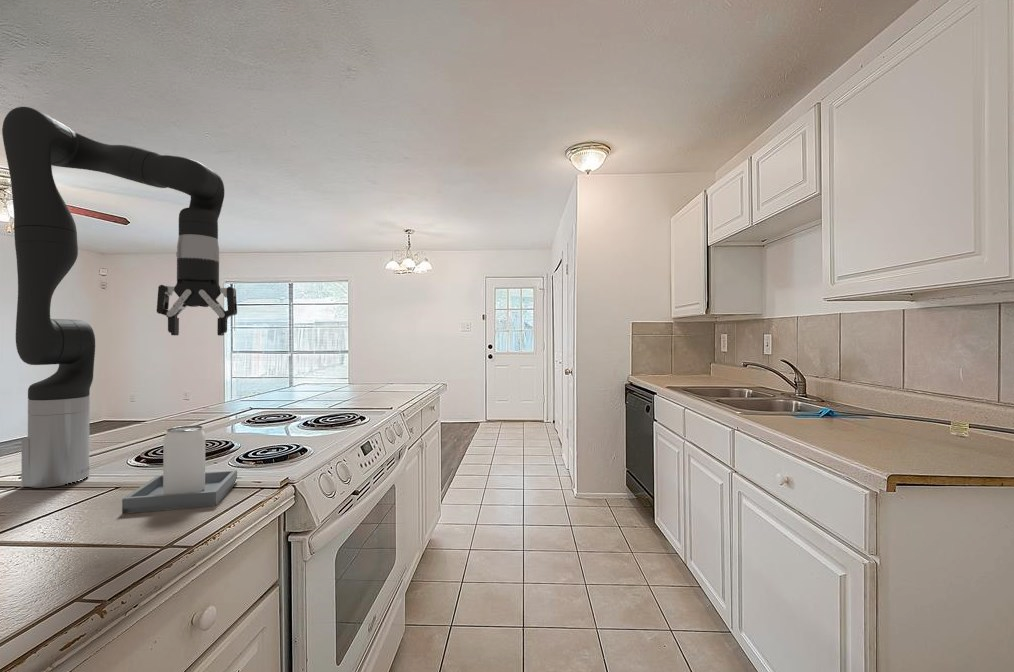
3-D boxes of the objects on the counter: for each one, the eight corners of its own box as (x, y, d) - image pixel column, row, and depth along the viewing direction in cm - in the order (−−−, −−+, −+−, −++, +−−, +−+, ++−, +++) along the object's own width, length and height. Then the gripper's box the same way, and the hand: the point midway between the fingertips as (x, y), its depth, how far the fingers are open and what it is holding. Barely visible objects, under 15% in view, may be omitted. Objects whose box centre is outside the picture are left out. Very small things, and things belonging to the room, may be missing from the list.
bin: (122, 513, 80) (122, 498, 80) (157, 488, 94) (157, 475, 94) (215, 505, 84) (216, 491, 84) (237, 482, 98) (237, 470, 98)
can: (183, 499, 85) (184, 432, 85) (154, 497, 86) (154, 430, 86) (213, 488, 91) (213, 425, 91) (185, 486, 92) (185, 424, 92)
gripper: (240, 263, 106) (240, 335, 106) (166, 260, 102) (166, 335, 102) (231, 258, 99) (230, 335, 99) (151, 254, 95) (150, 335, 95)
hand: (198, 335), depth 101 cm, fingers open, 8 cm apart
